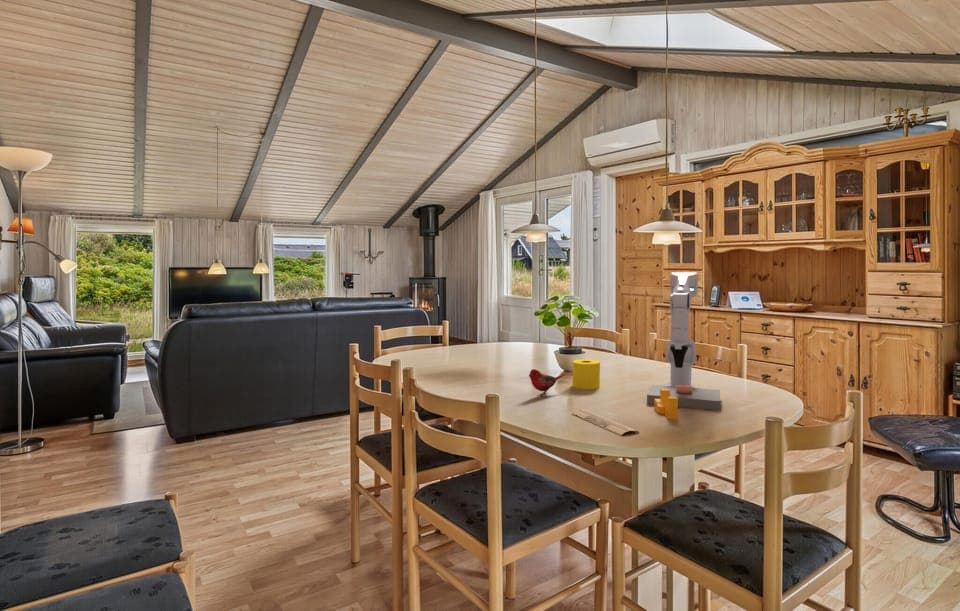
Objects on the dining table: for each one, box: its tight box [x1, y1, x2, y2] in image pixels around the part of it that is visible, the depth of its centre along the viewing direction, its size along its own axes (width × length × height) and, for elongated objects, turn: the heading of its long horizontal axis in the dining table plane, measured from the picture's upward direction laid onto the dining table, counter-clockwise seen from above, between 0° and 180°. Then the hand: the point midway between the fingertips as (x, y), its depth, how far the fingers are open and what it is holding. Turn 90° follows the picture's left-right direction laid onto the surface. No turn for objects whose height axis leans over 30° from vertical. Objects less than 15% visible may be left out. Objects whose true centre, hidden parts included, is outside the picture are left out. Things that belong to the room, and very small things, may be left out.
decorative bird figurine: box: [528, 368, 565, 397], centre depth 189 cm, size 3×18×10 cm, turn 127°
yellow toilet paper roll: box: [572, 358, 601, 390], centre depth 201 cm, size 10×10×9 cm
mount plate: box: [646, 384, 721, 411], centre depth 178 cm, size 16×22×3 cm
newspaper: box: [571, 408, 640, 437], centre depth 155 cm, size 24×7×2 cm, turn 25°
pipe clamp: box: [653, 389, 679, 420], centre depth 164 cm, size 12×4×6 cm, turn 173°
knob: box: [676, 385, 693, 394], centre depth 178 cm, size 5×5×5 cm
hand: (678, 367), depth 183 cm, fingers closed
